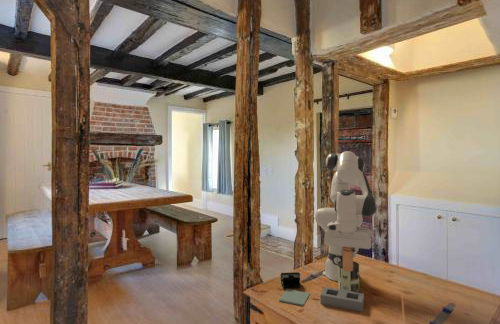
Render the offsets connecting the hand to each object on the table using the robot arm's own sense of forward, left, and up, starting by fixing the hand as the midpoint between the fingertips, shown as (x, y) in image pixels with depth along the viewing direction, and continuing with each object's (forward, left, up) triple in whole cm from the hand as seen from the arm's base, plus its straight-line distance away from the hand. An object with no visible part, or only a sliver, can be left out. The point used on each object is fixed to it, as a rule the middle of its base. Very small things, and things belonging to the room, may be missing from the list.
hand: (347, 256), depth 131 cm
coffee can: (-15, -2, -23) cm, 28 cm away
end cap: (-10, -31, -23) cm, 40 cm away
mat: (+2, -25, -23) cm, 34 cm away
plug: (0, 0, -6) cm, 6 cm away
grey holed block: (0, -3, -23) cm, 23 cm away
